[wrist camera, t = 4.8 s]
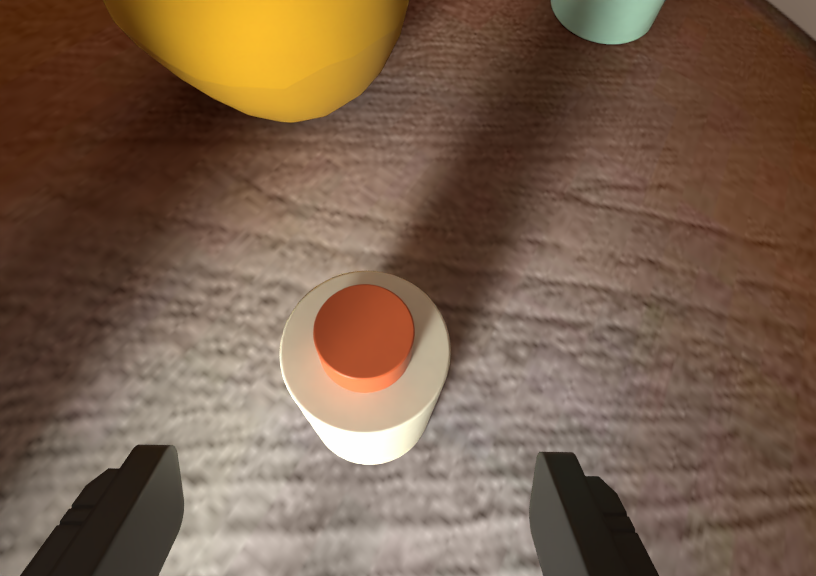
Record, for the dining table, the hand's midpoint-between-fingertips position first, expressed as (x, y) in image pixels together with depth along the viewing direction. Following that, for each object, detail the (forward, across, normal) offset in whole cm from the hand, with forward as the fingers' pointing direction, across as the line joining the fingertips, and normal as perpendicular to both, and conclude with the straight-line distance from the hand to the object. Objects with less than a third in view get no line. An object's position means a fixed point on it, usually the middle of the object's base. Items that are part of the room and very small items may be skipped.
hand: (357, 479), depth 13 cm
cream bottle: (+9, 0, +4) cm, 10 cm away
